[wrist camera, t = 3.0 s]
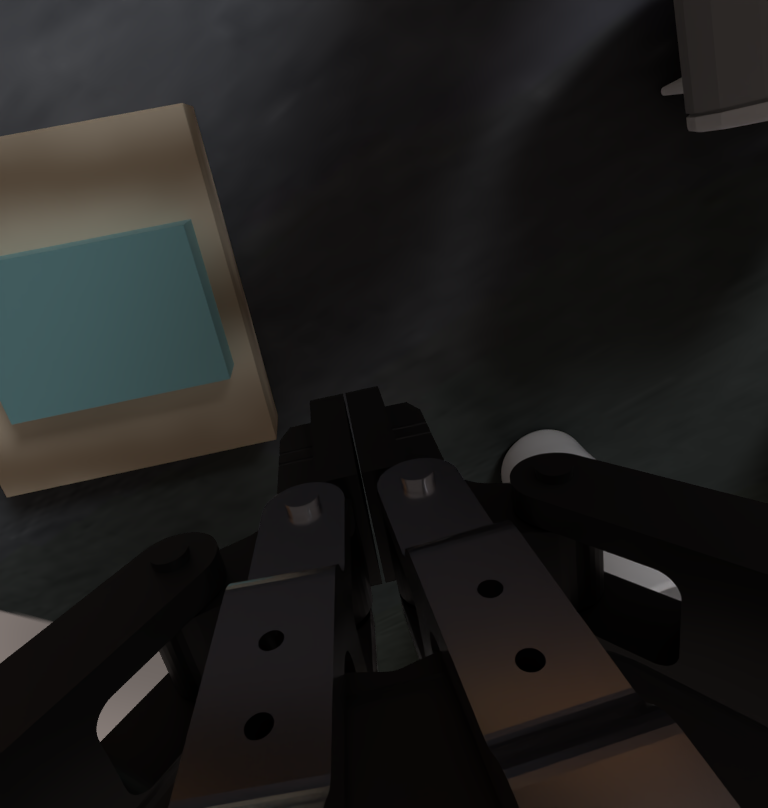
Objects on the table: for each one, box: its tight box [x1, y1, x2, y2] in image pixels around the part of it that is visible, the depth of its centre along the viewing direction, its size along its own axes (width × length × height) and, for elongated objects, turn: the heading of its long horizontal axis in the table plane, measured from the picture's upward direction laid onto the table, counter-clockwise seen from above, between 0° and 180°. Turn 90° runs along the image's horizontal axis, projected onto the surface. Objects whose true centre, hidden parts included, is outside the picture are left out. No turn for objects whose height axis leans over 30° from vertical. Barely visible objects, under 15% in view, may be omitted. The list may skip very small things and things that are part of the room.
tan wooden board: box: [0, 103, 278, 497], centre depth 29 cm, size 16×14×3 cm
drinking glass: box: [501, 429, 681, 601], centre depth 31 cm, size 7×7×15 cm
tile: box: [0, 219, 234, 425], centre depth 27 cm, size 7×10×2 cm
